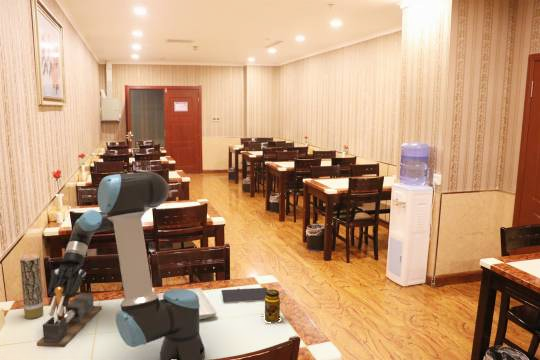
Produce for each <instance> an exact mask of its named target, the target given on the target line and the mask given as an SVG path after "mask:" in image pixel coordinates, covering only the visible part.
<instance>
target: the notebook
mask: <svg viewBox="0 0 540 360" xmlns="http://www.w3.org/2000/svg"><path fill="white" fill-rule="evenodd" d="M268 290H269V289H268V288H267V287H258V288H257V287H255V288H254V287H252V288H236V289H234V288H233V289H221V295H222V296H221V297H222V303H223V304H225V303H228V304H240V303H239V302H245V303H255V302H254V301H262V302H265V298H266V292H267V291H268ZM237 302H238V303H237Z"/></svg>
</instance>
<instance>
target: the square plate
mask: <svg viewBox="0 0 540 360" xmlns="http://www.w3.org/2000/svg"><path fill="white" fill-rule="evenodd" d="M186 290H190V291H193V292H194V293H196V294H197V295H198V298H199V305H200V307H199V320H203V319H208V318H212V317H213V316H215V315H216V314H217V311H216V309H215V308H214V306H213V305H212V304H211V302H210V301H209V299H208V297H207V296H206V295H205V293H204V291H203V290H202V288H200V287H196V288H188V289H187V288H186ZM164 293H165V292H160V293H155V294H156V295H158V298H159V300H162V299H164V298H163V295H164Z"/></svg>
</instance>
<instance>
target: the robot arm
mask: <svg viewBox="0 0 540 360" xmlns="http://www.w3.org/2000/svg"><path fill="white" fill-rule="evenodd" d="M169 194H170V188H169V185H168V182H167V181H166V179H165V178H164V177H163V176H161V175H160V174H158V173H156V172H154V171H153V172H152V171H143V172H130V173H115V174H109V175H107V176H105V177H103V178H102V179H101V181H100V182H99V186H98V190H97V205H98V207H99V211H100V212H99V211H97V210H94V209H90V210H86V211H84V213H82V215H81V216H80V217H79V218H78V219H76V221H75V223H74V225H73V228H72V232H71V235H70V238H69V240H68V243H67V245H66V248H65V250H64V254H63V257H62V260H61V264H60V265H59V267H58V268H56V269H54V268H52V269H51V270H50V273H51V275H50V280H49V284H48V289H47V293H46V294H47V295H48V296H50V300H49V303H48V305H49V309H48V312H47V314H48V315H49V316H50V317H54V315H55V311H56V316H57V315H59V316H62V313H63V310H64V311H65V307H66V306H67V305H68V303H69V302H70V299H71V298H75V297H76V296H77V294H78V292H79V289H80V287H81V285H82V283H83V280H84V279H85V277H86V276H87V275H88V274H87V272H86V271H85V270H83V269H82V267H83V265H84V264H83V263H84V261H85V257H86V255H87V251H88V248H89V245H90V242H91V239H92V237H93V235H94V234H95V233H100V232H105V231H110V230H111V231H112V230H113V231H114V235H115V241H116V248H117V255H118V261H119V268H120V274H121V281H122V287H123V295H124V299H123V300H122V302H121V303H120V309H121V310H119V311H118V312H117V313H116V314H115V323H116V328H117V330H118V331H117V332H119V335H120V338H121V340H122V341H123V342H124V343H125V344H126V345H127V346H129V347H131V348H136V347H139V346H142V345H143V346H144V345H146V344H148V343H151V342H153V341H154V342H155V341H156V340H159V339H162V338H163V341H162V344H161V347H160V351H159V360H171V359H177V360H202V359H203V358H204V359H205V353H206V351H205V349H206V348H205V346H204V343H203V339H202V337H201V334H200V319H199V307H200V305H199V298H198V295H197V294H196V293H194V292H193V291H190V290H186V289H187V288H186V289H184V288H172V289H168V290H166V291H164V292H163V293H164V295H163V298H164V299H162V300H159V298H158V295H156V294H157V293H155V292H154V291H153V287H152V286H153V285H152V279H151V274H150V273H151V272H150V267H149V262H148V254H147V247H146V242H145V236H144V235H145V233H144V229H143V222H142V217H144V215H145V214H146V212H147V211H149V210H151V209H155V208H157V207H160V205H162V204H163V203H165V202H166V200H168V197H169ZM65 282H67V283H66V288H65V290H64V293H63V296H62V298H61V301H60V304H59V307H58V310H57V306H56V294H55V289H56V287H59V286H60V287H63V286H64V285H65ZM204 359H203V360H204Z"/></svg>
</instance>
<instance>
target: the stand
mask: <svg viewBox="0 0 540 360" xmlns="http://www.w3.org/2000/svg"><path fill="white" fill-rule="evenodd" d="M71 308H77V315H76V316H74V317H73V318H72V319H71V320H70V321H69V322H68V323H67V322H66V318H63V319H62V320H61V321H60V322H59V323H58V324H57V325H56V324H55V317H54V316H51V317H50V318H49V319H48V320H47V321H46V322H44V323H43V324H42V334H43V335H42V337H41V338H40V339H39V340H38V341H37V342H36V347H37V346H38V347H56V348H58V347H59V348H65V347H66V346H67V345H68V344H69V343H70V342H71V341H72V340H73V339H74V338H75V337H76V336H77V335H78V334H79V333H80V332H81V330H83V329H84V328H85V326H86V325H88V323H89V322H91V320H92V319H94V317H95V316H97V314H99V312H100V311H101V310H102V309H103V306H102V305H94V293H85V292H84V293H83V292H80V293H79V294H78V295H76V296H75V297H73V299H72V300H70V301H69V302H68V305H67V306H66V307H64V309H65V313H66V312H68V311H69V310H70V309H71Z"/></svg>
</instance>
